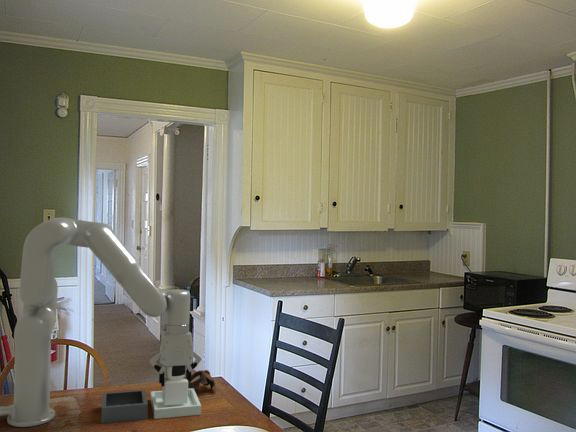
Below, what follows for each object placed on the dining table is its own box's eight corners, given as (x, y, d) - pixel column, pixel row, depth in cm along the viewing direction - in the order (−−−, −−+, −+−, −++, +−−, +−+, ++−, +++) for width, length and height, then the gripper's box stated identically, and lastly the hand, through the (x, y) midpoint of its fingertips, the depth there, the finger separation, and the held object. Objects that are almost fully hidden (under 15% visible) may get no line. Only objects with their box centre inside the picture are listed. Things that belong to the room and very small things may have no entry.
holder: (101, 423, 149) (101, 408, 149) (102, 407, 162) (102, 392, 161) (147, 419, 153) (147, 404, 153) (144, 403, 166) (145, 389, 166)
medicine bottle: (183, 395, 168) (185, 359, 168) (187, 403, 161) (189, 365, 161) (161, 397, 165) (163, 360, 165) (164, 405, 159) (166, 367, 159)
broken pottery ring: (216, 398, 174) (204, 379, 172) (191, 408, 175) (180, 389, 173) (221, 378, 185) (211, 359, 183) (199, 387, 187) (188, 369, 185)
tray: (154, 419, 154) (154, 409, 154) (150, 400, 169) (150, 391, 169) (200, 414, 158) (201, 405, 158) (193, 396, 173) (193, 388, 173)
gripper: (149, 332, 157) (147, 390, 157) (206, 330, 163) (204, 386, 163) (148, 327, 164) (146, 382, 164) (202, 325, 170) (200, 378, 170)
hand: (175, 383), depth 163 cm, fingers closed on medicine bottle, 7 cm apart
